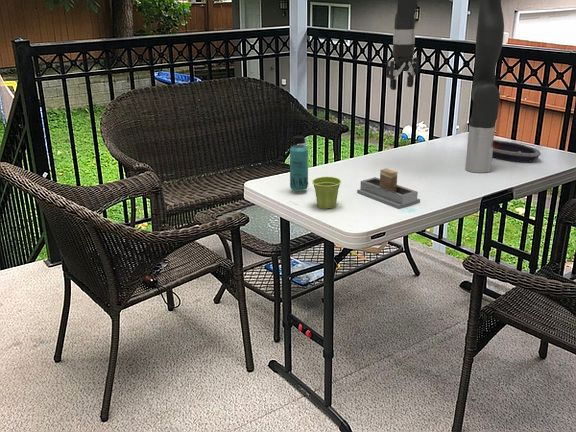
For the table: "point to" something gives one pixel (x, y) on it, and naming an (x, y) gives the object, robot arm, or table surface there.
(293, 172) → the beverage bottle
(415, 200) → the grey rectangular tray
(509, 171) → the table surface
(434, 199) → the table surface
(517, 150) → the dish
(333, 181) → the plant pot
